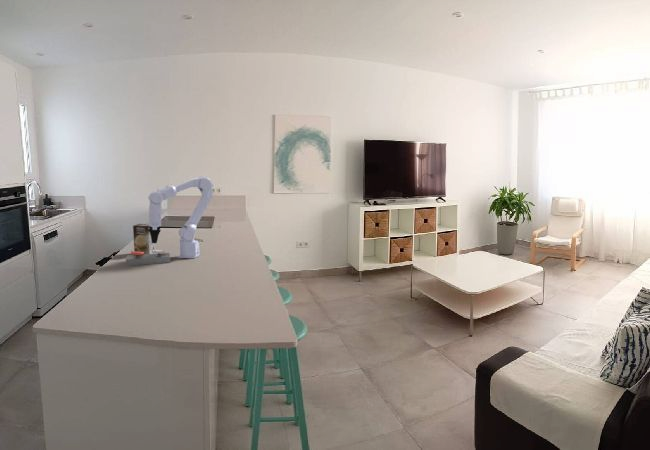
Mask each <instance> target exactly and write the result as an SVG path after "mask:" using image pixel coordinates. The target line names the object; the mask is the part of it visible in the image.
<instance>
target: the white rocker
mask: <svg viewBox="0 0 650 450" xmlns="http://www.w3.org/2000/svg"><path fill="white" fill-rule="evenodd" d="M152 252H153V253H154V254H158V253H160V254H165V253H166V250H162V249H161V250H159V249H155V250H153V251H152Z"/></svg>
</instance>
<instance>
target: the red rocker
mask: <svg viewBox="0 0 650 450" xmlns="http://www.w3.org/2000/svg"><path fill="white" fill-rule="evenodd" d="M130 255H144V252H137V251H134V250H130Z"/></svg>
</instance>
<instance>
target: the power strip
mask: <svg viewBox="0 0 650 450" xmlns="http://www.w3.org/2000/svg"><path fill="white" fill-rule="evenodd" d="M166 263H167V264H168V263H171V255H170V252H165V254H160V253H154V254H144V255H133V254H130V255H126V257H125V266H139V265H152V264H153V265H154V264H166Z"/></svg>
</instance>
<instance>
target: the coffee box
mask: <svg viewBox="0 0 650 450" xmlns="http://www.w3.org/2000/svg"><path fill="white" fill-rule="evenodd" d="M146 224H147V223H136V224H135V225H132V229H133V251H137V252H144V254H155V253H153V252H152V251H153V250H156V243H152V240H151V235H150V232H149V227H151V226H149V225H146Z"/></svg>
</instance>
